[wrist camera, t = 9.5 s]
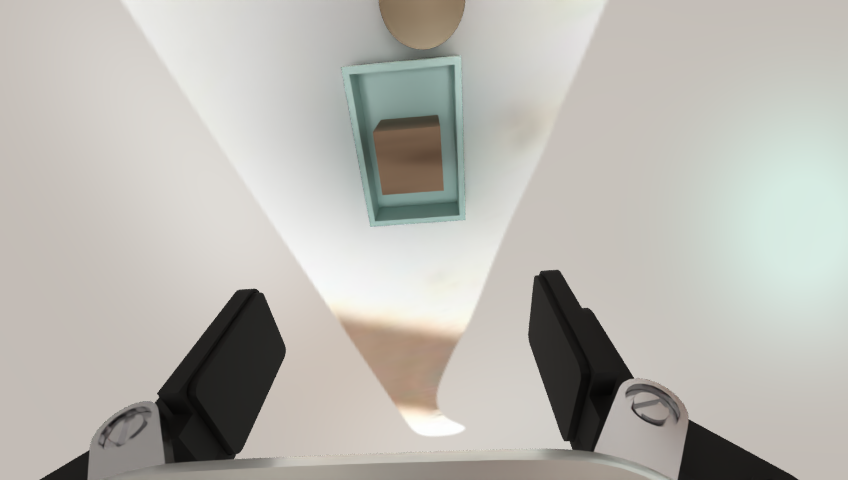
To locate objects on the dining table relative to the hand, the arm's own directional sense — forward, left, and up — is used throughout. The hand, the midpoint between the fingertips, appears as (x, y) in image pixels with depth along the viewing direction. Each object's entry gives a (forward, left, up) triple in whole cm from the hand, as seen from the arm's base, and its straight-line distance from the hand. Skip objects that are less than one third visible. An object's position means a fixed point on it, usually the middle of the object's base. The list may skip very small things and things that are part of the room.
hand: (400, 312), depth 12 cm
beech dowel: (-10, +2, -16) cm, 19 cm away
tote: (-2, 0, -16) cm, 16 cm away
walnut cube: (0, 0, -13) cm, 13 cm away
